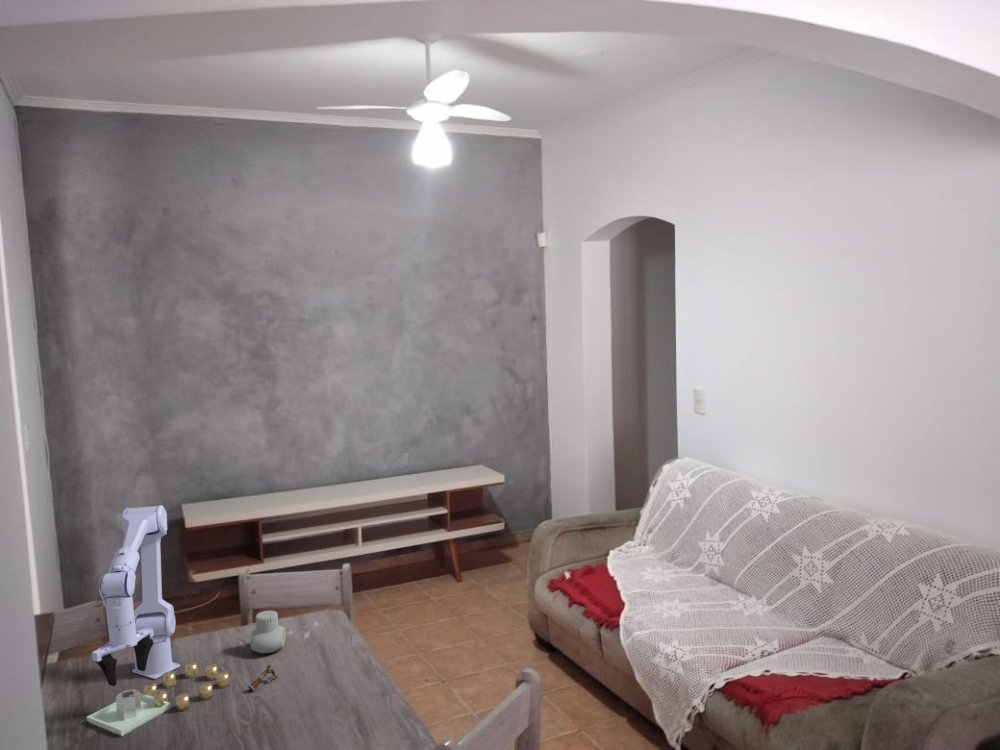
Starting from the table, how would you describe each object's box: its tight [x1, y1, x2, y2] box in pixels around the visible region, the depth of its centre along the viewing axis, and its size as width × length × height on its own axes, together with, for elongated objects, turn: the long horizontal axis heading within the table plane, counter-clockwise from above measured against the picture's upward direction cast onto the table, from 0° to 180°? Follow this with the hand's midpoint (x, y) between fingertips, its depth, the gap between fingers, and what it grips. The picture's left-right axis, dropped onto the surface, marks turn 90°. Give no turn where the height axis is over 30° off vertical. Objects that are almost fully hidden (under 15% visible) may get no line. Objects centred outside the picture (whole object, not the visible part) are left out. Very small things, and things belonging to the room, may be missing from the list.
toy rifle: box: [246, 662, 279, 693], centre depth 200 cm, size 2×8×4 cm, turn 142°
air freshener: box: [249, 610, 287, 654], centre depth 220 cm, size 11×8×10 cm
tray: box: [86, 692, 172, 737], centre depth 188 cm, size 13×13×2 cm
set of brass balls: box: [143, 661, 231, 713], centre depth 198 cm, size 17×18×3 cm
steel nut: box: [115, 688, 142, 720], centre depth 188 cm, size 5×4×5 cm
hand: (127, 677), depth 187 cm, fingers open, 7 cm apart
